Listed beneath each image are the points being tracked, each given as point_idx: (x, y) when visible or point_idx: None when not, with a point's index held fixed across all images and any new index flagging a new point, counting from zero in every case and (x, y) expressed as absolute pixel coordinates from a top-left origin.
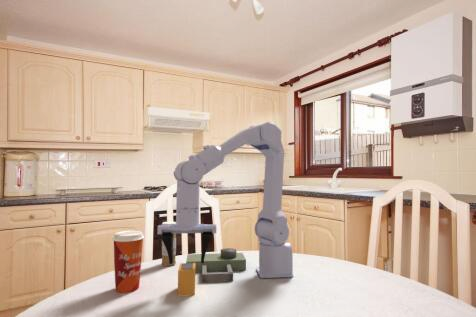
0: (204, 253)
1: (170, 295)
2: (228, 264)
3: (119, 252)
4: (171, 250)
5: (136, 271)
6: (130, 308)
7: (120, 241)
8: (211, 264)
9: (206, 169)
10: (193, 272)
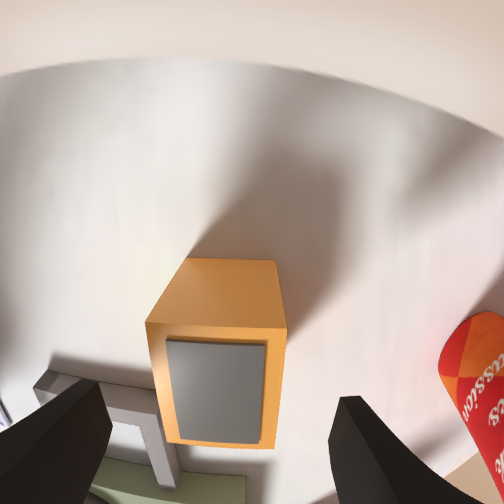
0: (32, 417)
1: (313, 267)
2: None
3: None
4: (388, 479)
5: (495, 374)
6: (469, 156)
7: None
8: (140, 484)
9: None
10: (161, 312)
